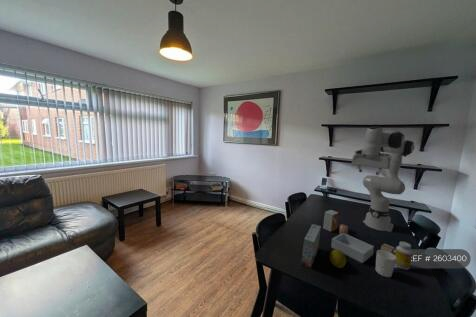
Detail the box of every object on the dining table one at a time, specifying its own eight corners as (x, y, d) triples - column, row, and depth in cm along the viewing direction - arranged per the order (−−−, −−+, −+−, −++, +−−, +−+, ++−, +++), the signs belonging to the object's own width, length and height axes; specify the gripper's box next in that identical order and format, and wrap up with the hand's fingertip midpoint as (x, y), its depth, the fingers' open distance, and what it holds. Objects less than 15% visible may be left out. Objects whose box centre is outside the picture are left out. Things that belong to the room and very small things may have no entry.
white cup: (370, 267, 102) (372, 249, 100) (384, 266, 102) (386, 249, 101) (382, 278, 94) (385, 259, 93) (397, 278, 95) (400, 259, 93)
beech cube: (383, 251, 117) (384, 243, 116) (393, 255, 113) (394, 247, 112) (379, 253, 114) (381, 245, 113) (390, 258, 110) (391, 250, 109)
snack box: (311, 269, 98) (314, 242, 96) (300, 265, 101) (303, 238, 99) (319, 249, 116) (321, 225, 114) (309, 245, 119) (311, 223, 117)
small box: (330, 232, 137) (332, 214, 135) (322, 228, 142) (324, 211, 140) (337, 229, 141) (339, 212, 140) (329, 225, 147) (330, 209, 145)
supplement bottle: (405, 271, 99) (409, 248, 98) (390, 263, 105) (394, 241, 104) (412, 268, 102) (416, 246, 100) (397, 260, 108) (401, 239, 106)
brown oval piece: (341, 232, 137) (342, 223, 136) (348, 236, 132) (349, 226, 132) (337, 234, 134) (338, 225, 133) (344, 238, 130) (346, 228, 129)
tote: (331, 247, 119) (332, 238, 118) (342, 240, 126) (343, 232, 126) (362, 263, 104) (363, 254, 104) (372, 255, 112) (373, 246, 111)
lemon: (344, 274, 96) (346, 259, 95) (327, 268, 100) (329, 253, 99) (345, 262, 105) (347, 248, 104) (330, 257, 109) (331, 243, 108)
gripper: (393, 153, 116) (389, 176, 118) (355, 150, 131) (353, 170, 133) (390, 154, 112) (387, 177, 114) (352, 150, 127) (349, 171, 129)
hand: (368, 173), depth 123 cm, fingers open, 8 cm apart
